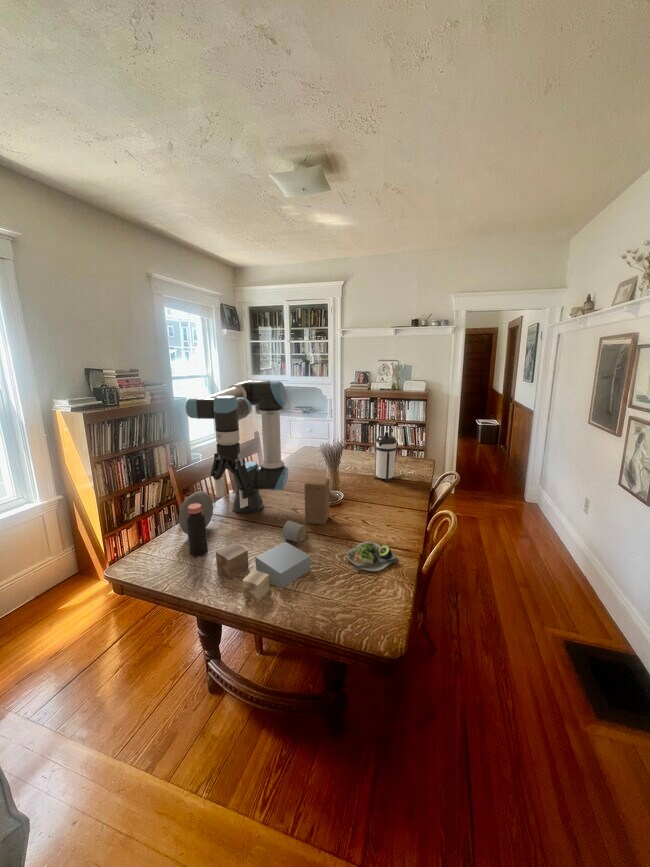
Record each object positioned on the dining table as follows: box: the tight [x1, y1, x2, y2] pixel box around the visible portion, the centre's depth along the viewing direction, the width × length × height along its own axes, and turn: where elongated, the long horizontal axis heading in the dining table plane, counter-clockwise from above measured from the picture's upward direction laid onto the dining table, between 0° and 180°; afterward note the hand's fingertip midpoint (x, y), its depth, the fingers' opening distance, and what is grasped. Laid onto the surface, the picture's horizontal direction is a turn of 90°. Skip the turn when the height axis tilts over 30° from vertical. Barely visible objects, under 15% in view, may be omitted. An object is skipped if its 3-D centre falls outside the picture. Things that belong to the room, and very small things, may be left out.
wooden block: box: [304, 476, 330, 526], centre depth 160 cm, size 10×10×20 cm
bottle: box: [186, 503, 209, 558], centre depth 133 cm, size 7×7×20 cm
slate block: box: [255, 541, 311, 589], centre depth 124 cm, size 14×14×6 cm
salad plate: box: [346, 541, 400, 572], centre depth 130 cm, size 19×18×5 cm
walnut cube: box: [215, 542, 250, 581], centre depth 124 cm, size 8×8×8 cm
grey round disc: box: [178, 490, 214, 536], centre depth 148 cm, size 18×7×19 cm, turn 156°
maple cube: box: [242, 569, 270, 602], centre depth 112 cm, size 6×6×6 cm
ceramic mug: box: [281, 520, 308, 543], centre depth 145 cm, size 11×8×8 cm
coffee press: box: [372, 431, 398, 483], centre depth 213 cm, size 17×16×30 cm
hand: (231, 501), depth 119 cm, fingers open, 13 cm apart
